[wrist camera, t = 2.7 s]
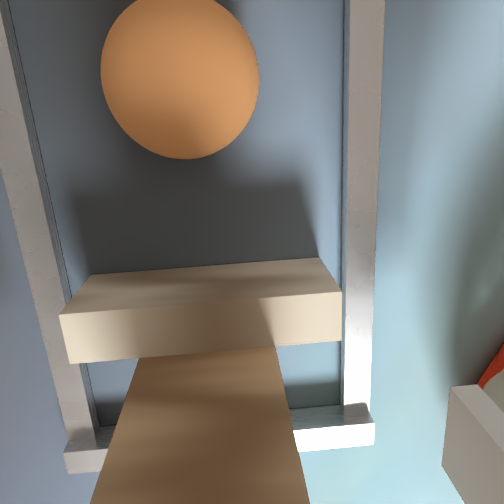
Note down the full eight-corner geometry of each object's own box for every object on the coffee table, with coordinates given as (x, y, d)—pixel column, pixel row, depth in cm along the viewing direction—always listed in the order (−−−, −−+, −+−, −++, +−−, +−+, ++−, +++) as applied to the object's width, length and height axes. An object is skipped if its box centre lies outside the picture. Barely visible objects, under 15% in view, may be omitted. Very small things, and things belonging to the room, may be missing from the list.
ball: (132, 156, 13) (96, 173, 10) (111, 14, 12) (59, -30, 8) (257, 148, 14) (270, 161, 10) (249, 7, 12) (261, -40, 8)
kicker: (116, 408, 16) (-142, 1131, 5) (90, 274, 14) (-431, 917, 3) (320, 389, 17) (542, 1022, 5) (319, 257, 15) (657, 767, 3)
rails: (78, 449, 17) (68, 474, 16) (-73, -182, 10) (-109, -218, 9) (363, 422, 17) (373, 444, 16) (384, -196, 11) (402, -231, 10)
